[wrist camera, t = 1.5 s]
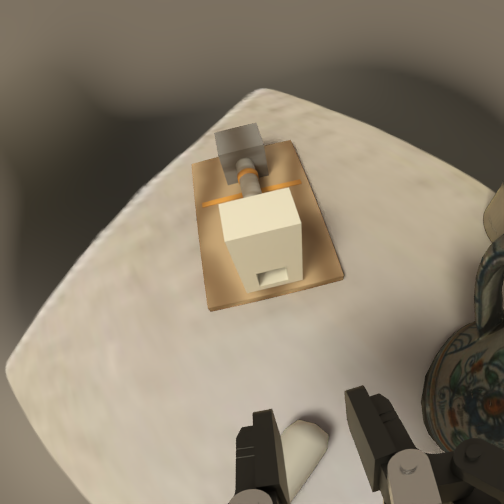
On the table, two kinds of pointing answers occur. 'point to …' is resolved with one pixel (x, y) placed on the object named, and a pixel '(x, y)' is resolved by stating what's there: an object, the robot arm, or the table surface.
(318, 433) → the tube
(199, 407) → the table surface
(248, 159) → the pipe stand
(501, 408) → the beer stein
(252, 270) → the sleeve
